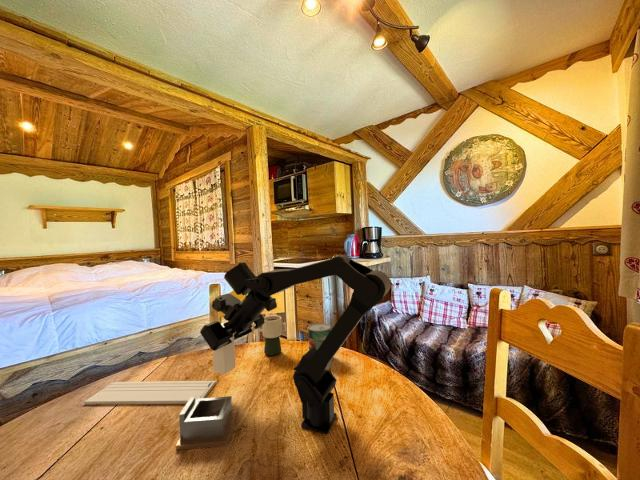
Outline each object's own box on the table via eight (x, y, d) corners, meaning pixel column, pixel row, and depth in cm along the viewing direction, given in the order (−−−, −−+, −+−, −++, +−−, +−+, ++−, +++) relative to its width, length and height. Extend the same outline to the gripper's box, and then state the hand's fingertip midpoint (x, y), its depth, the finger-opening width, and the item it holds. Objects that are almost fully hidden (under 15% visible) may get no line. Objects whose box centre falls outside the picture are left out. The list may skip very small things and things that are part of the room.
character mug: (289, 349, 102) (288, 315, 102) (285, 357, 95) (284, 321, 95) (261, 348, 103) (260, 315, 103) (255, 357, 96) (254, 321, 96)
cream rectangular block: (235, 367, 74) (233, 324, 74) (224, 374, 71) (222, 329, 70) (224, 365, 76) (222, 322, 76) (213, 371, 72) (211, 327, 72)
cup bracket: (237, 413, 65) (236, 389, 65) (226, 445, 55) (225, 416, 55) (194, 417, 64) (193, 392, 64) (176, 450, 55) (175, 420, 54)
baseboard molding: (119, 382, 83) (84, 407, 71) (119, 372, 83) (83, 396, 71) (219, 381, 82) (200, 406, 70) (219, 371, 82) (200, 395, 70)
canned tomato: (304, 356, 95) (304, 325, 95) (323, 351, 100) (322, 321, 99) (316, 365, 89) (315, 332, 88) (336, 359, 93) (335, 327, 93)
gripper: (254, 279, 80) (227, 313, 84) (204, 292, 63) (173, 333, 67) (278, 307, 77) (248, 341, 81) (231, 329, 60) (197, 370, 64)
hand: (219, 345), depth 74 cm, fingers closed on cream rectangular block, 4 cm apart
